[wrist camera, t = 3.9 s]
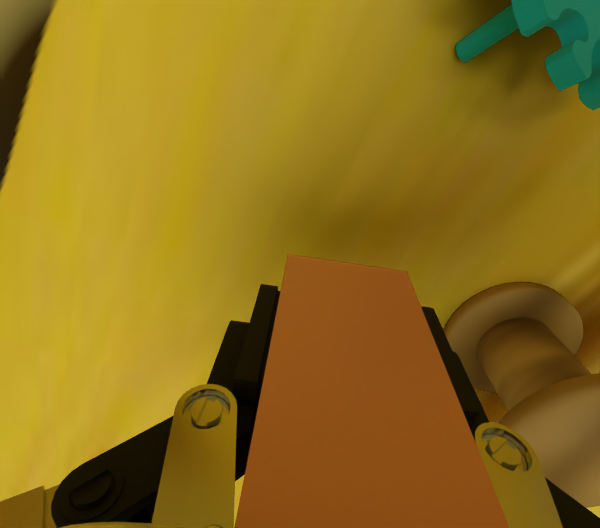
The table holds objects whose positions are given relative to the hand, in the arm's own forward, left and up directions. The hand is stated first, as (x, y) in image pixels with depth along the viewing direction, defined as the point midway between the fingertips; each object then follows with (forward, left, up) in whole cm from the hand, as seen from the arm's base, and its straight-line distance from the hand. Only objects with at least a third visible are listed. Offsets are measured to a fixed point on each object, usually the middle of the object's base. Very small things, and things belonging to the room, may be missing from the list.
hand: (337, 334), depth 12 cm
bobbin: (-14, +7, -12) cm, 20 cm away
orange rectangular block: (0, 0, -1) cm, 1 cm away
